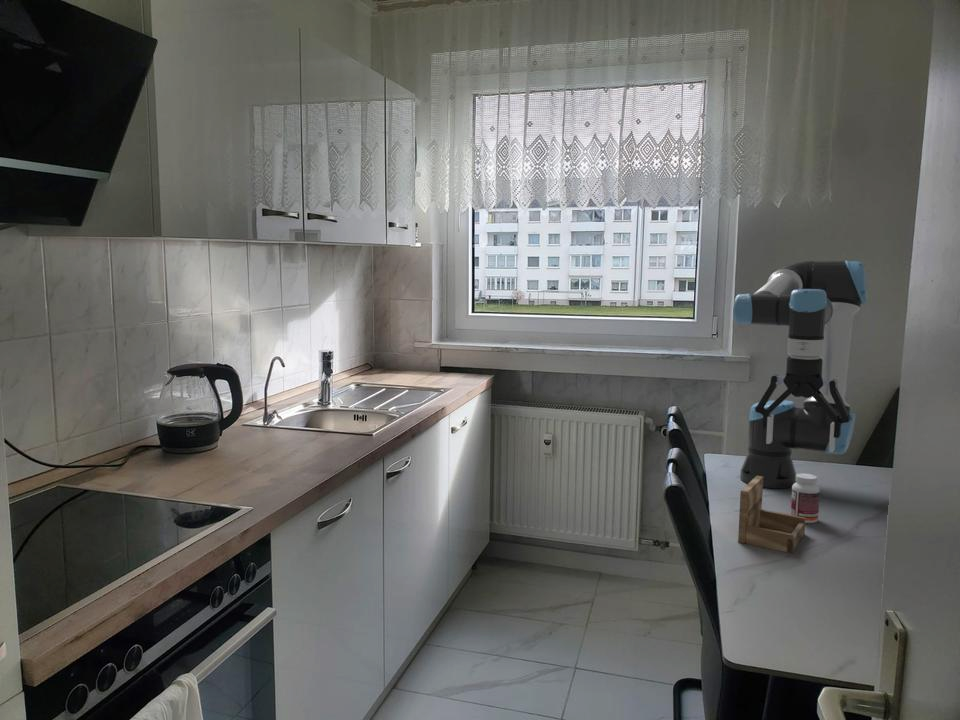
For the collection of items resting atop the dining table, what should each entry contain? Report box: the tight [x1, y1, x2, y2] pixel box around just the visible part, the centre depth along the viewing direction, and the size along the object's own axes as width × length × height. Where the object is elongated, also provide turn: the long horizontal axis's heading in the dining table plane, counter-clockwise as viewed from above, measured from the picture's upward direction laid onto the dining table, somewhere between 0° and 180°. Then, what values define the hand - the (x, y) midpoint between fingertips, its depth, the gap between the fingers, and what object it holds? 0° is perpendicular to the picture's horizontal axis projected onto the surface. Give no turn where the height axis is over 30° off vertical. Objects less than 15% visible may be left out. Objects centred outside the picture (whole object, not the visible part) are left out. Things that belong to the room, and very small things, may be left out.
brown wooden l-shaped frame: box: [737, 476, 806, 554], centre depth 164 cm, size 14×11×12 cm
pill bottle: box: [790, 473, 821, 524], centre depth 176 cm, size 6×6×11 cm
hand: (799, 446), depth 168 cm, fingers open, 13 cm apart
